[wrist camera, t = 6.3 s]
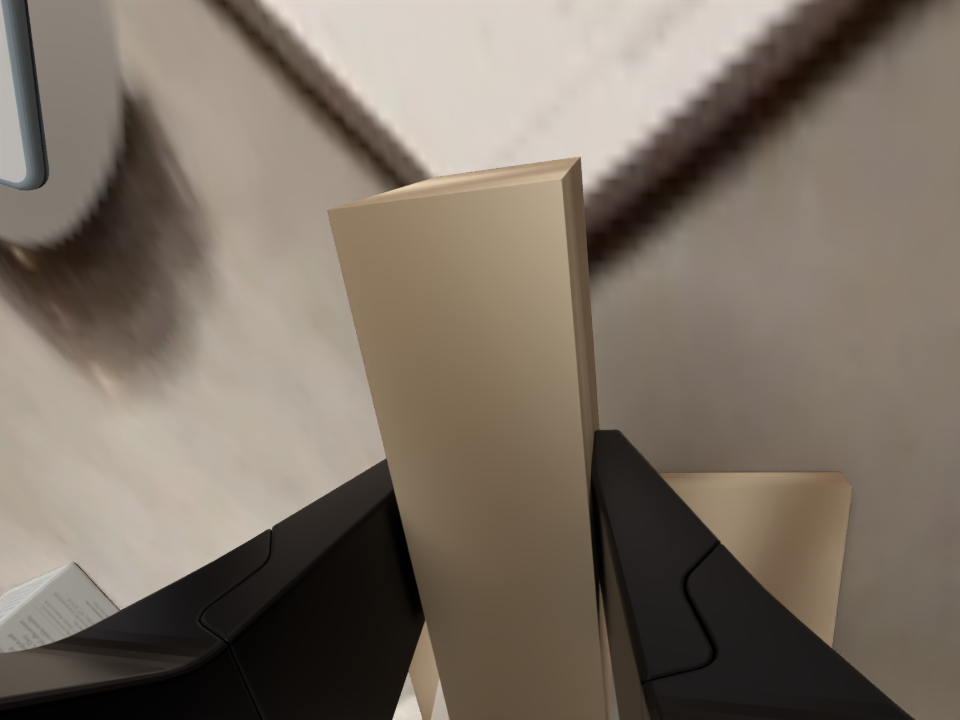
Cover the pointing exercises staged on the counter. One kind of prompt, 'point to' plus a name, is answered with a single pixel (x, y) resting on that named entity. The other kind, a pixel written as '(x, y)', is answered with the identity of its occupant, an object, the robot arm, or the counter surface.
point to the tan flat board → (748, 545)
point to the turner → (489, 427)
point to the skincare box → (50, 609)
